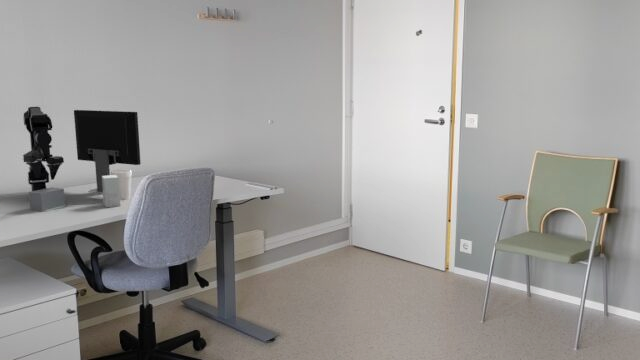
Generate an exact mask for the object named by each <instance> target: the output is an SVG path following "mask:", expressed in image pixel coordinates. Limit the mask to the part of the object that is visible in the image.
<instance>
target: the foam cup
mask: <svg viewBox="0 0 640 360" xmlns="http://www.w3.org/2000/svg"><path fill="white" fill-rule="evenodd" d="M132 174H133V173H132V170H131V169H115V170H111V171H110V175H116V176H117V177H118V178H119V194H120V201H123V200H129V199H131V188H132Z"/></svg>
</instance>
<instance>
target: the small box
mask: <svg viewBox="0 0 640 360" xmlns="http://www.w3.org/2000/svg"><path fill="white" fill-rule="evenodd" d="M102 187H103V193H102V199H103V201H102V202H103V205H104V206H105V208H111V207H112V208H113V207H119V206H121V200H120V194H119V178H118V177H117V176H116V175H111V174H110V175H107V176H102Z"/></svg>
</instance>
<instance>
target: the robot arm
mask: <svg viewBox="0 0 640 360" xmlns="http://www.w3.org/2000/svg"><path fill="white" fill-rule="evenodd" d="M23 124H24V126H25V129H26V130H27V131H28V133H29V139H30V150H29V151H28V152H26V153H24V154H23V155H22V157H23V158H22V160H23V163H25V164H26V165H27V166H28V165H29V166H28V172H27V182H28V185H31V192H32V191H37V190H41V189H46V188H47V185H46V183H47V184H49V183H50V181H51V180H53V181H54V179H55V178H56V176H57V173H58V170H59V168H60V167H61V165H63V163H65V162H64V161H65V160H64V157H63V156H59V155H54V156H53V154H51V150H50V148H53V147H52V146H53V145H52V144H51V143H52V139H53V138H52V135H51V134H50V133H49V131H52V129H53V123H52V119H51V117H50V116H48V114H47V113H44V112H43V111H42V109H41V106H29V107H27V110H26V111H25V112H24V113H23ZM50 144H51V145H50ZM45 162H46V163H47V164H46V166H47V168H49V172H48V170H47V169H46V166H45V164H43V163H45Z"/></svg>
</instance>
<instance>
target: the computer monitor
mask: <svg viewBox="0 0 640 360" xmlns="http://www.w3.org/2000/svg"><path fill="white" fill-rule="evenodd" d="M73 116H74V117H73V119H74V130H75V141H76V154H77V160H78V161H84V162H85V161H89V162H94V164H95V165H94V166H95V178H96V179H95V180H96V188H93V189H89V190H88V193H96V192H97V194H103V187H102V176H107V175H111V171H110V169H111V168H110V166H112V165H117V164H119V165H120V164H121V165H123V164H124V165H133V166H138V165H141V163H142V162H141V151H140V150H141V149H140V135H139V133H140V132H139V116H138V112H137V111H120V110H115V111H114V110H91V109H90V110H89V109H85V110H84V109H75V110H73Z"/></svg>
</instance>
